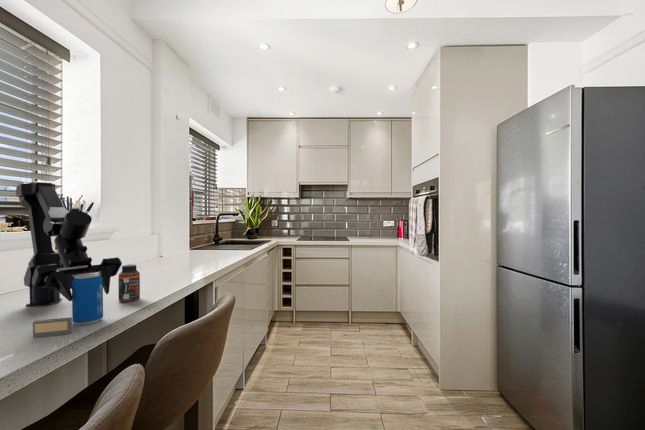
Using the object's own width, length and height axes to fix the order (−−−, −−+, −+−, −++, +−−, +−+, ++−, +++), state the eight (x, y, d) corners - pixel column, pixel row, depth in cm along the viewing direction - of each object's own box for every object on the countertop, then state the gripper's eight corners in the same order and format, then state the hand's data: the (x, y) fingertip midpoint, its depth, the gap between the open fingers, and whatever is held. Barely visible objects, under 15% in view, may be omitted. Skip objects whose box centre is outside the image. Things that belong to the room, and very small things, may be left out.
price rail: (32, 337, 74) (32, 322, 74) (36, 335, 75) (35, 320, 75) (69, 334, 76) (69, 319, 76) (71, 332, 77) (71, 317, 77)
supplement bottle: (130, 303, 102) (129, 267, 102) (113, 302, 103) (113, 266, 103) (144, 298, 108) (143, 264, 107) (128, 297, 109) (128, 263, 109)
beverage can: (91, 326, 81) (90, 277, 81) (65, 326, 81) (65, 278, 81) (108, 317, 88) (108, 273, 88) (85, 317, 88) (84, 273, 88)
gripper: (101, 265, 101) (118, 306, 95) (20, 275, 85) (36, 325, 79) (112, 240, 96) (132, 282, 90) (30, 246, 81) (47, 297, 75)
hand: (90, 296), depth 84 cm, fingers open, 8 cm apart
